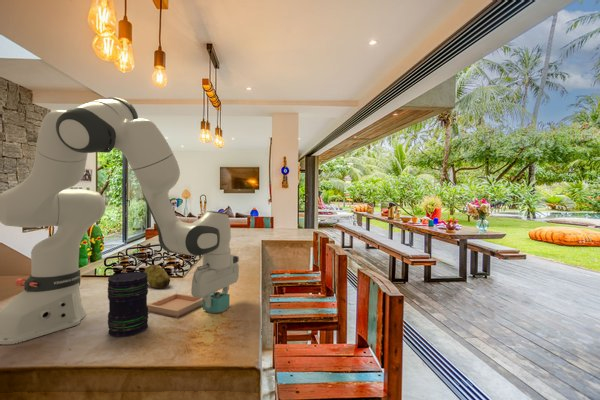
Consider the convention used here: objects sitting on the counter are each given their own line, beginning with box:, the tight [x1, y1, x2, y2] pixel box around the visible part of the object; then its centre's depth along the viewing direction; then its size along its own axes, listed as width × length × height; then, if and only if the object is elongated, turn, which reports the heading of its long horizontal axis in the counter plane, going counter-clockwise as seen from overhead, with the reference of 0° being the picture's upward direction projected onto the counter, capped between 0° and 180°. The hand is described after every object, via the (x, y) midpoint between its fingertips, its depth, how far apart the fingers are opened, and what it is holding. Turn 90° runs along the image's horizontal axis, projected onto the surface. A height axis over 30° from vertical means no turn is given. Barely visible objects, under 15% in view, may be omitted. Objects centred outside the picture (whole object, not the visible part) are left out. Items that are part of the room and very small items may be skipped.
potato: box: [143, 264, 171, 289], centre depth 128 cm, size 8×13×8 cm, turn 37°
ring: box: [202, 292, 231, 312], centre depth 103 cm, size 6×6×4 cm
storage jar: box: [107, 271, 149, 338], centre depth 88 cm, size 10×10×15 cm
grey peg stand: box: [204, 291, 229, 314], centre depth 103 cm, size 7×7×6 cm
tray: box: [147, 292, 203, 319], centre depth 105 cm, size 13×13×2 cm
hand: (216, 303), depth 103 cm, fingers closed on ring, 6 cm apart
